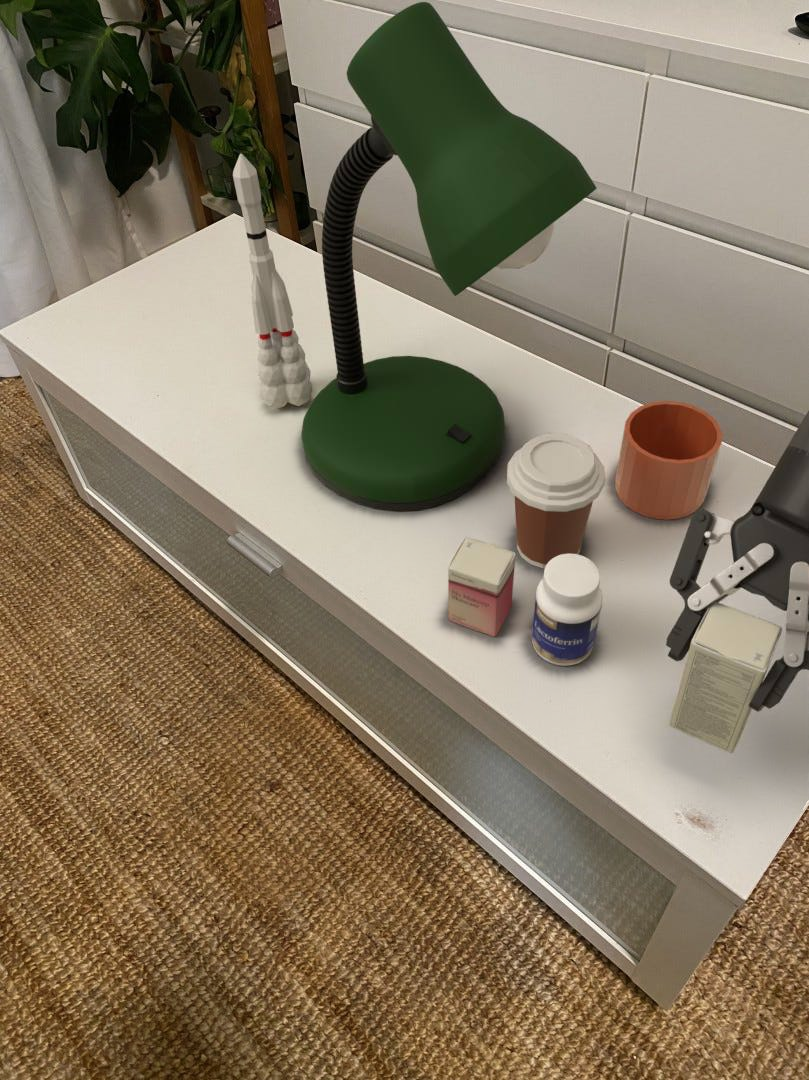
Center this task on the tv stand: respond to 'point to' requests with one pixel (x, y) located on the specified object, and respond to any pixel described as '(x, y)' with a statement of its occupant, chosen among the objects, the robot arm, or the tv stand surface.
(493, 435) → the desk lamp
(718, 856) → the tv stand surface
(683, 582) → the robot arm
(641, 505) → the terracotta plant pot
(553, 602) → the pill bottle
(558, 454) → the coffee cup
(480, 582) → the small box
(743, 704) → the box
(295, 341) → the rocket model
